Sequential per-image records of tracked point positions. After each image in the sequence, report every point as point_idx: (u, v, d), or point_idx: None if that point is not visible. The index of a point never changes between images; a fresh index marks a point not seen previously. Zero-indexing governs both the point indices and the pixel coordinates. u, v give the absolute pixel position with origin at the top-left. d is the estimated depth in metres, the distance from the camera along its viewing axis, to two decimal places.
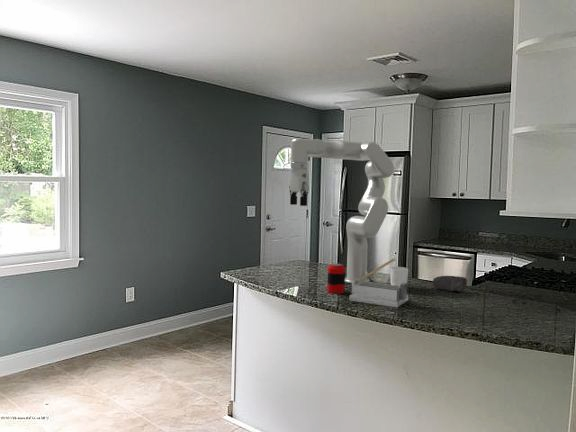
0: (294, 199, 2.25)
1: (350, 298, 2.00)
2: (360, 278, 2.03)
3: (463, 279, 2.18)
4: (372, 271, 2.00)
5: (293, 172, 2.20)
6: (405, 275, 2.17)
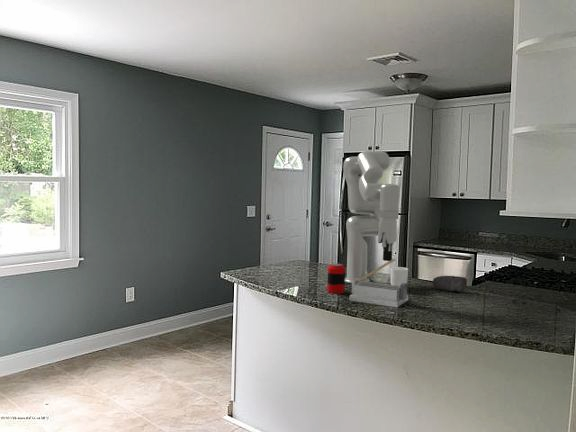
0: None
1: (350, 298, 2.00)
2: (360, 278, 2.03)
3: (463, 279, 2.18)
4: (372, 271, 2.00)
5: (394, 221, 1.96)
6: (405, 275, 2.17)
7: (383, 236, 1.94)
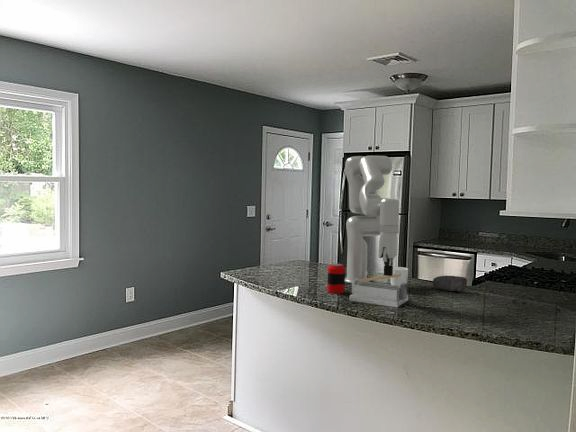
0: None
1: (350, 298, 2.00)
2: (361, 280, 2.03)
3: (463, 279, 2.18)
4: (375, 278, 2.00)
5: (394, 236, 1.95)
6: (405, 275, 2.17)
7: (384, 251, 1.94)
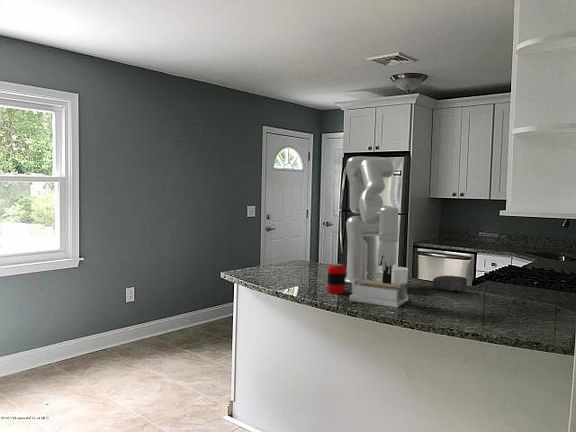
0: None
1: (350, 298, 2.00)
2: (361, 281, 2.03)
3: (463, 279, 2.18)
4: (375, 282, 2.00)
5: (393, 244, 1.96)
6: (405, 275, 2.17)
7: (382, 259, 1.94)
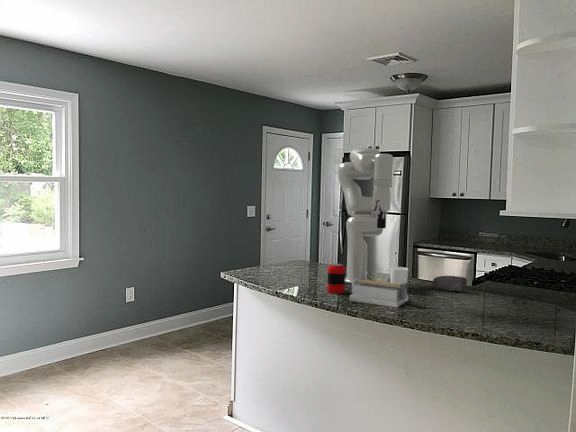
0: None
1: (350, 298, 2.00)
2: (361, 281, 2.03)
3: (463, 279, 2.18)
4: (375, 282, 2.00)
5: (387, 190, 2.02)
6: (405, 275, 2.17)
7: (377, 204, 2.01)
